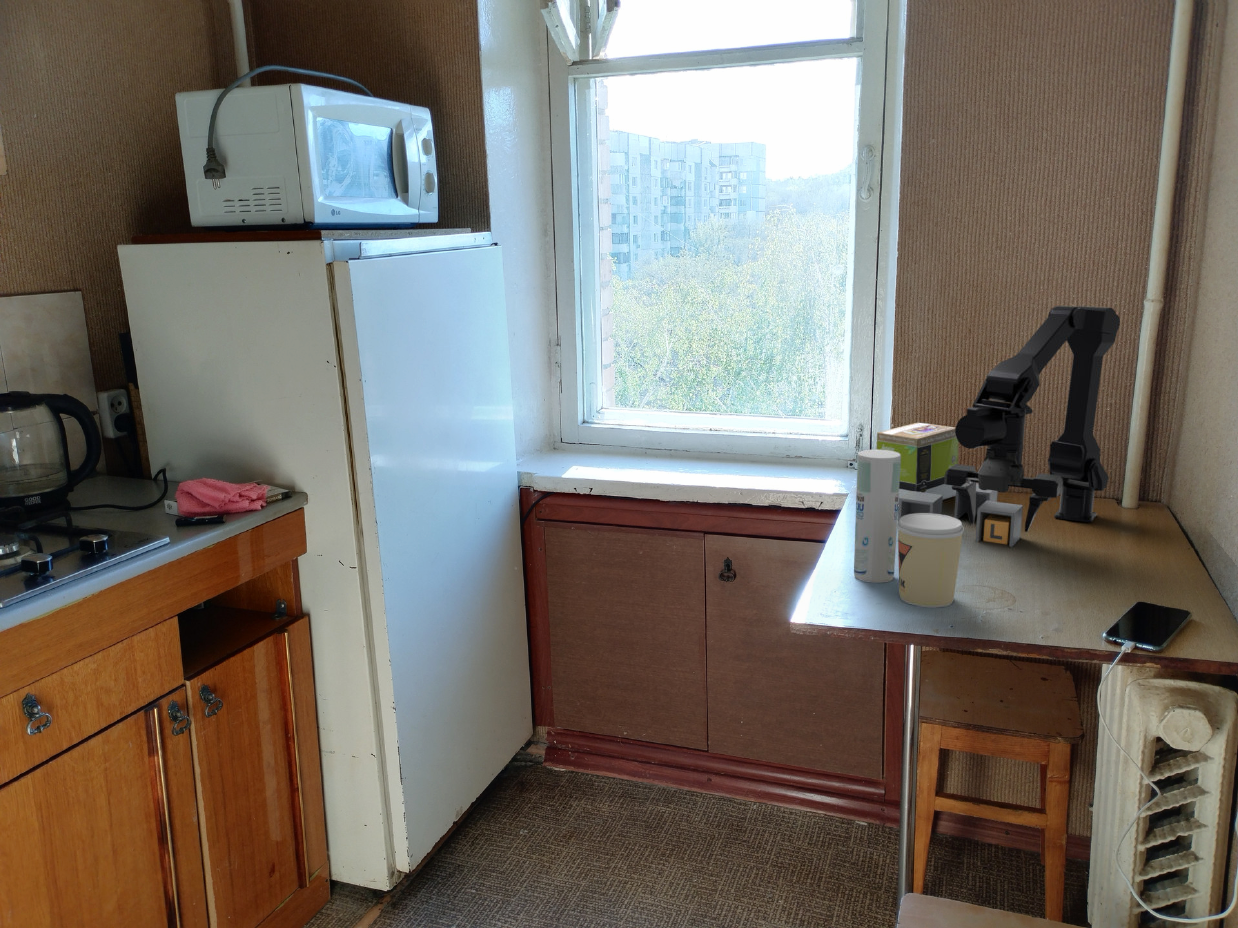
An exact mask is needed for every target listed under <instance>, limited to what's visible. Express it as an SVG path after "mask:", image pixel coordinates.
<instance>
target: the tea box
mask: <svg viewBox="0 0 1238 928" xmlns="http://www.w3.org/2000/svg"><path fill="white" fill-rule="evenodd" d="M955 427H956V426H955ZM955 427H953V426H948V425H939V424H931V423H924V422H914V423H909V424H907V425H903V426H902V425H901V426H899V427H895V428H890V429H888V430H887V429H885V430H883V431H878V432H877V433H876V450H889V451H894V452H897V453H899V454H900V455H901V464H900V481H899V498H900V497H901V496H903V495H904V494H906V493H907V492H909V491H916V492H923V493H931V494H939V495H943V501H944V500H947V499H950V498H953V497H956V490H952V485H946V484H944V478H945V472H946V471H947V470H948V469H949V468H951V467H952V466H954V465H955V464H959V442H958V440H957V438H956V434H955ZM898 505H899V499H898Z"/></svg>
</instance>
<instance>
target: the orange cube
mask: <svg viewBox="0 0 1238 928" xmlns="http://www.w3.org/2000/svg"><path fill="white" fill-rule="evenodd" d="M1010 530H1011V517H1008V516H1000V515H993V514H990V515H989V516H988V517H987V518H986V519H985V525H984V537H983V538H982V540H983V542H989V543H996V544H1002V545H1008V544H1009V543H1010Z"/></svg>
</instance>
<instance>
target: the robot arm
mask: <svg viewBox="0 0 1238 928" xmlns="http://www.w3.org/2000/svg"><path fill="white" fill-rule="evenodd" d="M1120 323H1121V320H1120V316H1119V315H1118V314H1117V313H1116V311H1115V309H1114V308H1112V307H1105V306H1104V307H1103V306H1085V305H1084V306H1083V305H1079V306H1071V305H1057V306H1054V307H1052V308H1051V309H1050V310H1049V312H1048V315H1047V317H1046V319H1045V320H1044V321H1043V323H1041V325H1040V326H1039V327H1038V329H1036V331H1035V333H1033V334H1032V336H1031V337H1030V338H1029V339H1028V340H1027V342H1026V343H1025V344H1024V345H1023V346H1022V348H1020V350H1019V351H1018V352H1017V353H1016V354H1015V355H1014V356H1012V357H1010V358H1007V359H1004V360H1002V361H1000V362H999V363H998V364H997V365H996V366H995V367H993V369H991V370H990V371H989V373H988V374H987V375H986V378H985V380H984V381H983V383H982V385H981V388H980V389H979V392H978V393H977V395H976V398H974V401H973V403H972V406H971V407H968V408H967V409H966V415H963V416H962V417H960V419H959V420H958V421H957V424H956V425H955V434H956V438H957V440H958V444H960V445H961V446H962V447H963V448H966V449H968V450H969V449H978V448H983V447H987V448H986V451H985V457H984V459H983V461H982V464H981V465H980V468H979V469H978V471H976V467H975V465H967V464H966V465H965V464H959V463H958V464H955V465H954V466H952V467H951V468H949V469H948V470H947V471H946V472H945V478H944V484H946V485H952V490H956V491H958V493H959V494H960V495H961V497H962V499H963V501H964V504H965V507H966V510H967V513H966V514H967V516H968V520H969V523H970V525H974V524H975V520H976V515H977V514H976V483H978V484H979V489H981V490H994V491H998V493H1006V492H1008V491H1009V489H1010V487H1012V488H1013V487H1014V488H1021V489H1030V490H1031V492H1032V494H1031V495H1030V496H1029V497H1028V499H1029V500H1028V502H1029V503H1028V508H1027V512H1026V513H1027V514H1026V517H1025V522H1024V523H1025V524H1024V532H1026V533H1027V532H1029V530H1030V528H1031V526H1032V524H1033V522H1034V519H1035V518H1036V515H1037V513H1038V511H1039V509H1040V507H1041V505H1042V504H1043V503H1044V502H1049V501H1050V500H1051V499H1054V498H1058V496H1060V498H1059V499H1060V500H1059V508H1058V510H1057V511H1056V513H1055V514H1054V516H1053V517H1054V518H1055V519H1060V520H1061V519H1062V520H1067V521H1077V522H1083V523H1092V522H1093V520H1094V519H1095V518H1096V516H1097V514H1098V513H1097V512H1096V511H1094V510H1093V509H1094V499H1095V492H1096V491H1097V492H1098V491H1099V492H1102V491H1104V489H1106V488H1107V485H1108V482H1109V479H1110V477H1109V475H1108V474H1107V472H1106V469H1105V468H1104V467H1103V465H1102V463H1101V449H1100V446H1099V444H1098V442H1097V440H1096V438H1095V435H1094V426H1095V418H1096V413H1097V412H1096V411H1097V407H1098V406H1097V405H1098V396H1099V390H1100V389H1099V388H1100V382H1101V375H1102V366H1103V361H1104V356H1105V355H1106V354H1107V352H1108V351H1109V350H1110V349H1111V347H1112V346H1113V345H1114V344H1115V342H1116V337H1117V334H1118V330H1119V328H1120ZM1066 342H1067V344H1068V347H1069V349H1070V351H1071V353H1072V365H1071V373H1070V379H1069V386H1068V387H1069V388H1068V394H1067V396H1068V397H1067V404H1066V412H1065V420H1064V426H1063V427H1064V428H1063V432H1062V434H1061V435H1060V436H1059V437H1058V438H1057V440H1052V441H1051V443H1050V445H1049V456H1048V459H1047V462H1048V473H1049V474H1048V473H1042V472H1040V473H1038V474H1037V475H1036V476H1034V477H1028V476H1027V477H1026V476H1025V475H1024V472H1025V471H1024V466H1023V463H1022V462H1023V461H1022V460H1023V453H1024V440H1025V439H1024V437H1025V426H1026V425H1025V424H1026V415H1031V414H1033V412H1034V411H1033V409H1032V408H1031V407H1030V406H1029V405H1028V402H1030V401H1031V400H1032V398H1033V396H1034V395H1035V393H1036V392H1037V390H1038V388H1039V387H1040V385H1041V383H1040V381H1041V380H1040V374H1041V373H1042V371H1043V370H1044V368H1045V367H1046V366H1047V365H1048V364H1049V362H1050V361H1051V360H1052V359H1053V357H1054V356H1055V355H1056V354H1057V352H1058V351H1059V350H1060V349H1061V348H1062V347H1063V346H1064V344H1065V343H1066Z"/></svg>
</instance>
